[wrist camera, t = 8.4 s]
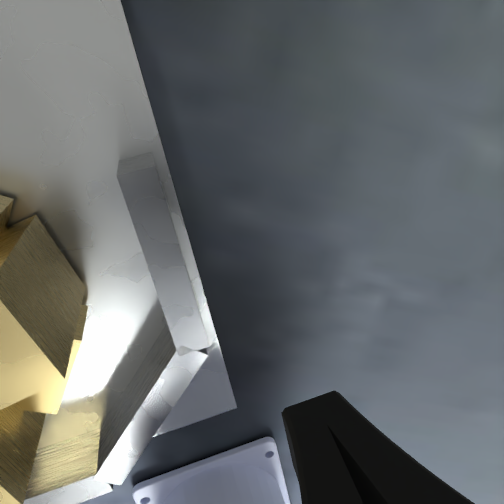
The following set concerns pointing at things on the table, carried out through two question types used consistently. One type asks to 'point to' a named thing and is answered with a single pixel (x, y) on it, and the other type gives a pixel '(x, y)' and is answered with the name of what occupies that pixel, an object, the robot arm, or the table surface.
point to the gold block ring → (32, 342)
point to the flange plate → (104, 242)
